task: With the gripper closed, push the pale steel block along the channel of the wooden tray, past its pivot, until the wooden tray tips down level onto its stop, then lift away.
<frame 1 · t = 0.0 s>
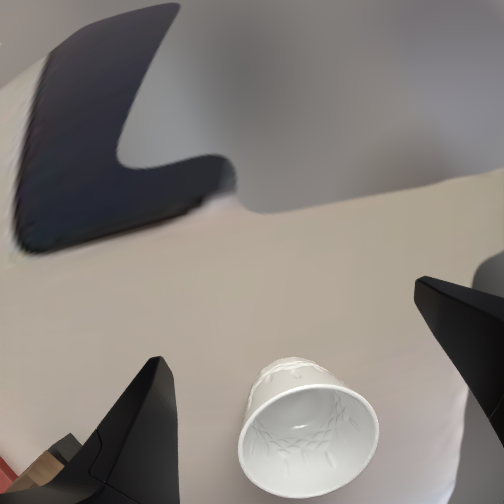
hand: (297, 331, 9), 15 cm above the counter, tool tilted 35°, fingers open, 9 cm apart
white cup: (290, 392, 23), on the counter
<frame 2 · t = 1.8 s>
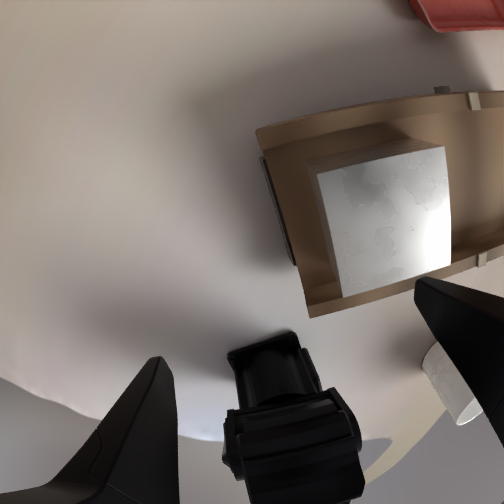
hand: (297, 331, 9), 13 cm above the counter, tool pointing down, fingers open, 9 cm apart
white cup: (440, 351, 32), on the counter
wooden tray: (467, 178, 16), point 6 cm above the counter, hinge at -10.4°, touching steel block
seesaw stand: (424, 164, 21), on the counter
steel block: (371, 201, 17), point 4 cm above the counter, tilted 10°, touching wooden tray
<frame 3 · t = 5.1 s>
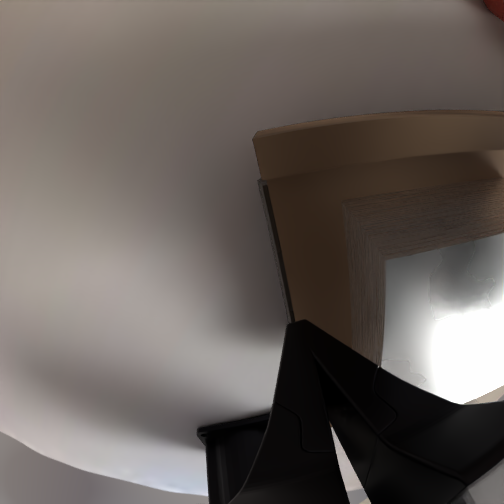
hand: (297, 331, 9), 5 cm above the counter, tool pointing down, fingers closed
seesaw stand: (483, 205, 14), on the counter
steel block: (432, 273, 10), point 4 cm above the counter, tilted 10°, touching gripper, wooden tray
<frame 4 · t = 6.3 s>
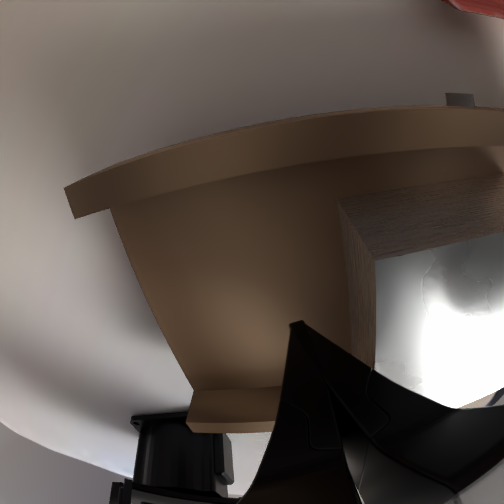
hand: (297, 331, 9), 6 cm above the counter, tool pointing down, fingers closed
wooden tray: (480, 261, 9), point 6 cm above the counter, hinge at -9.9°, touching steel block
steel block: (433, 272, 10), point 5 cm above the counter, tilted 10°, touching gripper, wooden tray
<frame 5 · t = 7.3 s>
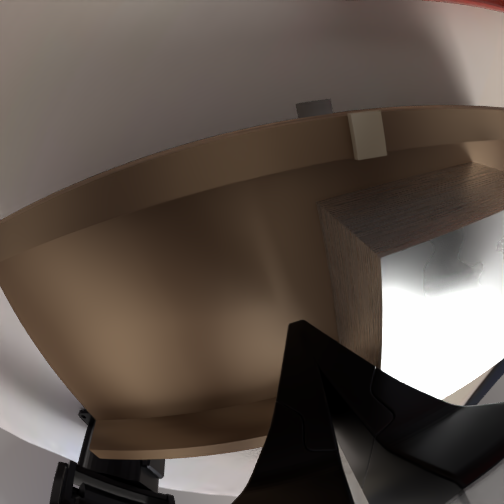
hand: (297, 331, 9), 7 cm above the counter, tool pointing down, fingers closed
white cup: (357, 437, 26), on the counter
wooden tray: (353, 287, 10), point 6 cm above the counter, hinge at 0.5°
steel block: (413, 265, 10), point 6 cm above the counter, touching gripper
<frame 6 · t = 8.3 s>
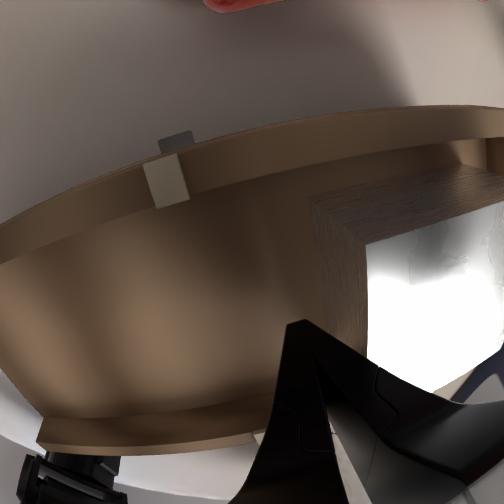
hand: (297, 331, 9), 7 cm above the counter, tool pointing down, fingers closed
white cup: (316, 447, 27), on the counter
wooden tray: (225, 317, 11), point 6 cm above the counter, hinge at 0.5°
steel block: (401, 261, 11), point 5 cm above the counter, touching gripper
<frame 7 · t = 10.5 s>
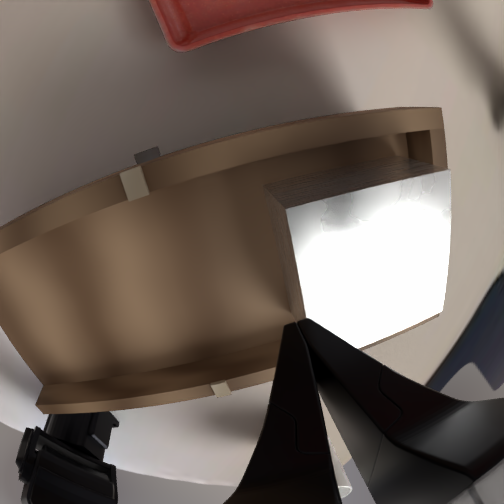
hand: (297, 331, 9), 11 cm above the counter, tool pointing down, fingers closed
white cup: (292, 428, 30), on the counter
wooden tray: (184, 284, 14), point 6 cm above the counter, hinge at 0.4°, touching steel block
steel block: (345, 236, 14), point 5 cm above the counter, touching wooden tray
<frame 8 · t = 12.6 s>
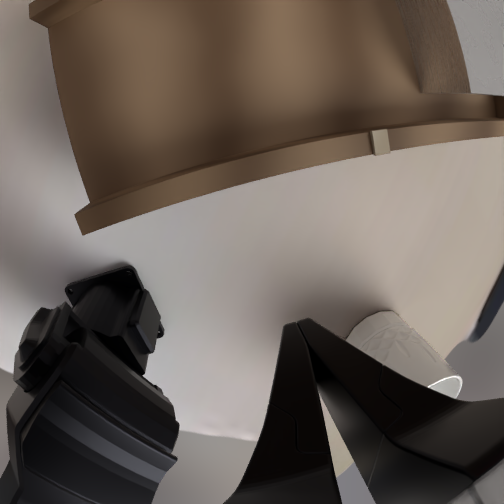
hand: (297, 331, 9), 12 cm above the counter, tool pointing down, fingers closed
white cup: (373, 336, 27), on the counter
wooden tray: (335, 35, 11), point 6 cm above the counter, hinge at 0.4°, touching steel block
steel block: (447, 41, 11), point 5 cm above the counter, touching wooden tray
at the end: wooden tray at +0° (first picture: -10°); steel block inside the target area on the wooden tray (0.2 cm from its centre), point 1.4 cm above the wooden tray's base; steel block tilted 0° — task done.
